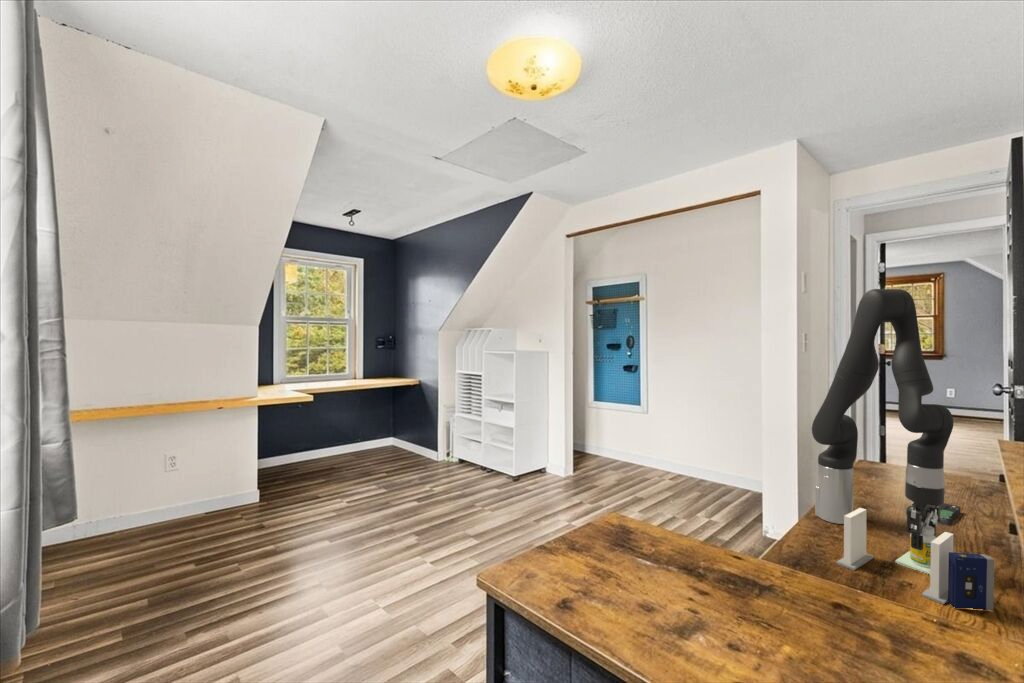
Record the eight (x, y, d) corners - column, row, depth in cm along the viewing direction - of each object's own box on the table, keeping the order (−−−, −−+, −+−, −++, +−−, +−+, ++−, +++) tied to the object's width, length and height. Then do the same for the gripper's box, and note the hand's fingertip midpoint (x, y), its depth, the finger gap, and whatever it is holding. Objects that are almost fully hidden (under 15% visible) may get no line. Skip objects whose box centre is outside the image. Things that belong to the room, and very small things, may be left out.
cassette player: (954, 609, 103) (955, 555, 102) (947, 602, 105) (948, 550, 105) (994, 612, 101) (995, 558, 101) (986, 606, 104) (987, 553, 103)
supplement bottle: (920, 556, 124) (920, 520, 123) (943, 566, 119) (943, 529, 118) (904, 559, 123) (905, 523, 122) (927, 570, 118) (927, 532, 117)
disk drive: (919, 505, 159) (905, 516, 150) (919, 497, 159) (905, 508, 150) (960, 515, 151) (949, 527, 142) (961, 506, 151) (949, 518, 142)
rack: (836, 563, 123) (836, 515, 122) (856, 551, 128) (856, 505, 128) (944, 605, 104) (945, 548, 104) (961, 588, 110) (962, 534, 110)
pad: (895, 563, 122) (895, 560, 122) (909, 553, 127) (909, 551, 127) (940, 578, 115) (940, 576, 115) (953, 567, 119) (953, 565, 119)
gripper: (917, 472, 127) (916, 531, 128) (894, 483, 119) (893, 545, 120) (953, 480, 120) (952, 542, 121) (932, 492, 113) (931, 558, 114)
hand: (923, 543), depth 121 cm, fingers open, 8 cm apart
